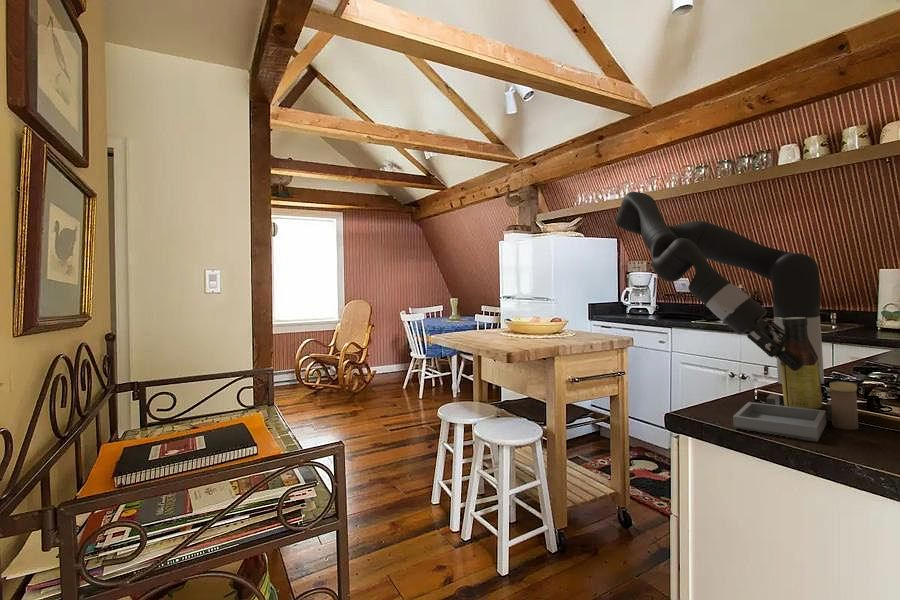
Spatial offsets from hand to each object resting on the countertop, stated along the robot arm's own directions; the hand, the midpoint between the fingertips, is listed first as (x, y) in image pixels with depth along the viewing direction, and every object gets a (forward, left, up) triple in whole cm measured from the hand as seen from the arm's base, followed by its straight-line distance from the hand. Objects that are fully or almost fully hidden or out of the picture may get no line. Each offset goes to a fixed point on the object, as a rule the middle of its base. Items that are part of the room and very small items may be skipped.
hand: (802, 363), depth 90 cm
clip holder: (0, -1, -10) cm, 10 cm away
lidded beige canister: (+5, +6, -10) cm, 13 cm away
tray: (+11, -3, -10) cm, 15 cm away
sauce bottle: (+1, 0, -11) cm, 11 cm away
